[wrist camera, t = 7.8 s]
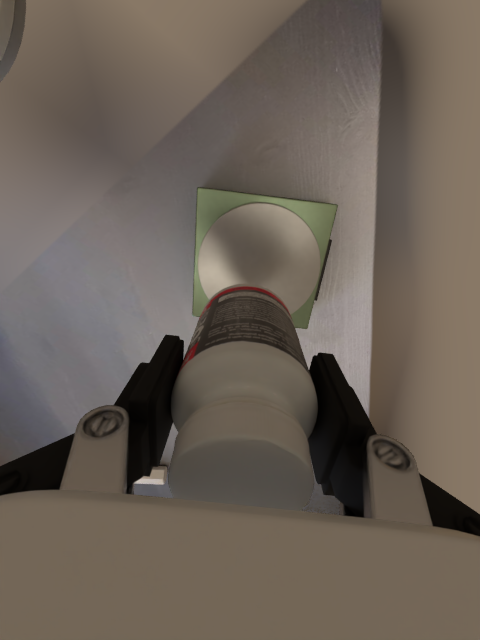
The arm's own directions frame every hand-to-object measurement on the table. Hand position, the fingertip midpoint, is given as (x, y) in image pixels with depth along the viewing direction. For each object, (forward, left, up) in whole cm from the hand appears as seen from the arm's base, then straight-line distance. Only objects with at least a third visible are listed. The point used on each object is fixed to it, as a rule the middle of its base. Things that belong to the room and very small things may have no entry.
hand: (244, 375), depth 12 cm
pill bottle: (0, 0, -5) cm, 5 cm away
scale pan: (+1, +1, -15) cm, 15 cm away
